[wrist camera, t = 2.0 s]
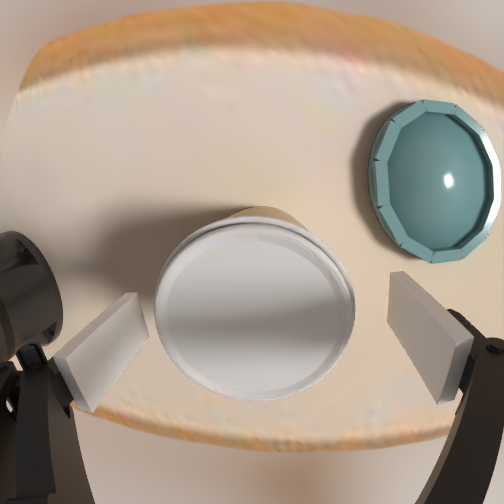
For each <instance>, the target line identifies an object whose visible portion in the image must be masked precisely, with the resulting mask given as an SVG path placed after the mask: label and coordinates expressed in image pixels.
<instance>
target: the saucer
mask: <svg viewBox="0 0 504 504" xmlns="http://www.w3.org/2000/svg"><path fill="white" fill-rule="evenodd" d="M482 128H483V127H482V126H481V125H480V124H479V123H478V122H477V121H476V120H474V119H473V118H472V117H471V116H470V115H469V114H467V113H466V112H465V111H464V110H463V109H461V108H460V107H459V106H458V105H455V104H454V103H447V102H440V101H432V100H420V101H417V102H415V103H412V104H409V105H407V106H405V107H403V108H401V109H399V110H398V111H396V112H395V113H394V114H392V115H391V116H390V117H389V118H388V119H387V120H386V121H385V123H384V124H383V125H382V127H381V128H380V130H379V132H378V134H377V136H376V138H375V140H374V143H373V145H372V148H371V152H370V157H369V164H368V186H369V194H370V198H371V202H372V206H373V209H374V211H375V214H376V217H377V219H378V221H379V223H380V225H381V226H382V228H383V229H384V231H385V232H386V234H387V235H388V236H389V237H390V238H391V240H392V241H393V242H394V243H395V244H397V245H398V246H399V247H400V248H401V249H403V250H405V251H406V252H408V253H409V254H411V255H412V256H415V257H417V258H419V259H422V260H425V261H427V262H428V263H432V264H434V263H442V262H449V261H456V260H462V258H463V259H464V258H465V257H466V256H467V255H468V254H470V253H471V252H472V251H473V250H474V249H475V248H476V247H477V246H478V245H479V244H481V243H482V242H483V241H484V240H485V239H486V238H487V237H486V235H487V236H488V235H489V232H490V230H491V227H492V225H493V222H494V220H495V217H496V214H497V212H498V209H499V206H500V203H499V202H498V201H501V184H500V165H498V163H499V161H498V159H497V156H496V154H495V151H494V149H493V147H492V145H491V142H490V140H489V138H488V136H487V134H486V132H485V130H484V129H482Z"/></svg>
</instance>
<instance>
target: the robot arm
mask: <svg viewBox="0 0 504 504" xmlns="http://www.w3.org/2000/svg"><path fill="white" fill-rule="evenodd" d="M387 322H388V324H389V325H390V327H391V328H392V330H393V332H394V333H395V335H396V336H397V338H398V339H399V341H400V343H401V344H402V346H403V347H404V349H405V351H406V352H407V354H408V355H409V357H410V359H411V360H412V362H413V364H414V365H415V367H416V369H417V370H418V372H419V374H420V375H421V377H422V379H423V381H424V382H425V384H426V386H427V387H428V389H429V391H430V393H431V395H432V396H433V398H434V400H435V402H436V403H437V405H439V404H442V403H446V402H449V401H452V400H454V399H455V396H456V394H457V391H458V388H460V390H461V391H462V393H463V396H462V399H461V401H460V404H459V406H458V408H457V411H456V413H455V415H456V416H455V419H454V422H453V425H452V427H451V430H450V432H449V435H448V437H447V440H446V442H445V445H444V447H443V450H442V452H441V454H440V456H439V459H438V461H437V463H436V465H435V467H434V469H433V471H432V473H431V475H430V477H429V479H428V481H427V483H426V485H425V487H424V489H423V491H422V492H421V494H420V496H419V498H418V499H417V501H416V503H415V504H483V501H484V499H485V495H486V493H487V490H488V487H489V484H490V481H491V478H492V475H493V471H494V468H495V464H496V460H497V456H498V452H499V447H500V443H501V439H502V434H503V429H504V340H502V339H499V338H491V337H490V338H486V337H485V336H484V335H482V334H481V333H480V332H479V331H478V330H477V329H476V328H475V327H474V326H473V325H471V323H470V322H469V321H468V320H466V318H465V317H463V316H462V315H461V314H460V313H458V312H456V311H454V310H452V309H447V310H446V309H445V308H444V307H443V306H442V305H441V304H440V303H439V302H438V301H437V300H435V299H434V298H433V297H432V296H431V295H430V294H429V293H428V292H427V291H426V290H424V289H423V288H422V287H421V286H420V285H419V284H418V283H417V282H415V281H414V280H413V279H412V278H411V277H410V276H409V275H407V274H406V273H405V272H404V271H400V272H392V273H390V287H389V304H388V317H387ZM62 324H63V308H62V301H61V296H60V292H59V289H58V286H57V283H56V280H55V278H54V275H53V273H52V271H51V269H50V267H49V265H48V263H47V261H46V259H45V258H44V256H43V255H42V253H41V252H40V250H39V249H38V248H37V247H36V245H35V244H34V243H33V242H32V241H31V240H30V239H28V238H27V237H26V236H24V235H23V234H21V233H18V232H15V231H8V232H5V233H2V234H0V504H95V502H94V499H93V495H92V492H91V489H90V486H89V482H88V479H87V475H86V471H85V468H84V463H83V459H82V455H81V451H80V446H79V441H78V437H77V431H76V425H75V419H74V413H73V409H72V407H71V406H70V403H71V402H72V401H73V399H74V401H75V403H76V404H77V406H78V408H79V410H83V411H87V412H90V413H93V412H94V410H95V409H96V408H97V406H98V405H99V404H100V402H101V401H102V399H103V398H104V397H105V395H106V394H107V393H108V391H109V390H110V389H111V387H112V386H113V384H114V383H115V382H116V380H117V379H118V378H119V376H120V375H121V374H122V372H123V371H124V370H125V368H126V367H127V366H128V364H129V363H130V362H131V360H132V359H133V358H134V356H135V355H136V354H137V352H138V351H139V350H140V348H141V347H142V346H143V344H144V343H145V342H146V340H147V339H148V338H149V333H148V330H147V327H146V323H145V319H144V316H143V312H142V308H141V305H140V301H139V297H138V293H137V292H134V293H125V294H124V295H123V296H121V297H120V298H119V299H118V300H117V301H115V302H114V303H113V304H112V305H111V306H109V307H108V308H107V309H106V310H105V311H104V312H102V313H101V314H100V315H99V316H98V317H97V318H95V319H94V320H93V321H92V322H91V323H90V324H88V325H87V326H86V327H85V328H84V329H83V330H82V331H80V332H79V333H78V334H77V335H76V336H75V337H74V338H72V339H71V340H70V341H69V342H68V343H67V344H66V345H65V346H64V347H62V348H61V349H60V350H59V351H58V352H57V353H56V354H55V355H54V356H53V357H52V358H51V359H49V360H48V361H47V359H46V356H45V354H44V352H43V349H42V347H43V346H47V345H49V344H51V343H52V342H53V341H55V340H56V339H57V337H58V336H59V334H60V332H61V329H62ZM14 355H16V356H17V358H18V360H19V363H20V365H21V367H22V369H23V371H17V369H16V367H15V365H14V363H13V362H12V361H8V360H9V359H11V358H12V357H13V356H14ZM6 401H8V402H9V404H10V406H11V407H12V409H13V410H12V412H10V411H9V410H8V408H7V406H6Z"/></svg>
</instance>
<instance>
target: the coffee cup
mask: <svg viewBox="0 0 504 504" xmlns="http://www.w3.org/2000/svg"><path fill="white" fill-rule="evenodd" d="M154 313H155V322H156V327H157V331H158V335H159V337H160V340H161V343H162V345H163V347H164V348H165V350H166V352H167V354H168V355H169V357H170V358H171V359H172V361H173V362H174V363H175V364H176V365H177V367H178V368H179V369H180V370H181V371H182V372H183V373H184V374H186V375H187V376H188V377H189V378H191V379H192V380H193V381H195V382H196V383H198V384H199V385H201V386H203V387H204V388H206V389H208V390H210V391H212V392H215V393H217V394H220V395H223V396H226V397H230V398H235V399H241V400H249V401H264V400H273V399H279V398H283V397H287V396H290V395H293V394H295V393H298V392H300V391H303V390H305V389H306V388H308V387H310V386H312V385H313V384H315V383H316V382H318V381H319V380H320V379H321V378H323V377H324V376H325V375H326V374H327V373H328V372H329V371H330V370H331V369H332V368H333V367H334V365H335V364H336V363H337V362H338V360H339V359H340V357H341V355H342V354H343V352H344V350H345V348H346V345H347V343H348V341H349V339H350V336H351V333H352V329H353V325H354V320H355V298H354V293H353V288H352V285H351V282H350V279H349V276H348V274H347V272H346V270H345V268H344V266H343V264H342V263H341V261H340V260H339V258H338V257H337V256H336V255H335V253H334V252H333V251H332V250H331V249H330V248H329V247H328V246H327V245H326V244H325V243H324V242H323V241H322V240H320V239H319V238H318V237H317V236H315V235H314V234H312V233H311V232H310V231H308V230H307V229H306V228H305V227H304V226H303V225H302V224H301V223H300V222H298V221H297V220H296V219H295V218H294V217H292V216H291V215H289V214H287V213H286V212H284V211H282V210H279V209H276V208H272V207H253V208H248V209H245V210H242V211H240V212H238V213H235V214H233V215H231V216H229V217H227V218H225V219H222V220H218V221H215V222H213V223H210V224H208V225H206V226H204V227H202V228H200V229H198V230H196V231H195V232H193V233H192V234H190V235H189V236H188V237H186V238H185V239H184V240H183V241H182V242H181V243H180V244H179V245H178V246H177V247H176V248H175V249H174V250H173V251H172V253H171V254H170V256H169V257H168V259H167V260H166V261H165V263H164V265H163V267H162V269H161V271H160V274H159V276H158V279H157V283H156V287H155V293H154Z"/></svg>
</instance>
